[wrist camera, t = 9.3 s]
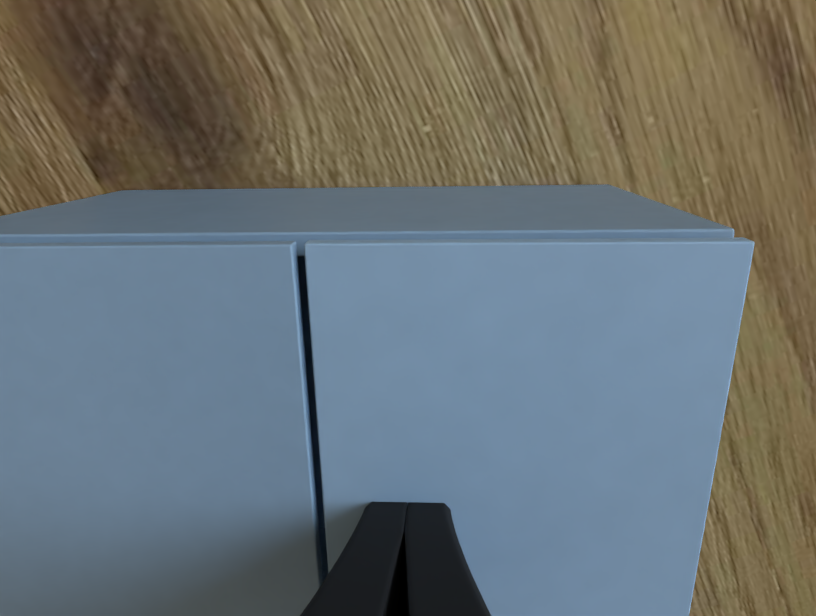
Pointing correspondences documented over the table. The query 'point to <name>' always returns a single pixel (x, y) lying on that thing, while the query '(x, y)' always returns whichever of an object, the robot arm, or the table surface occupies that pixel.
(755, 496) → the table surface
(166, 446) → the carton
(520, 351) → the flap
